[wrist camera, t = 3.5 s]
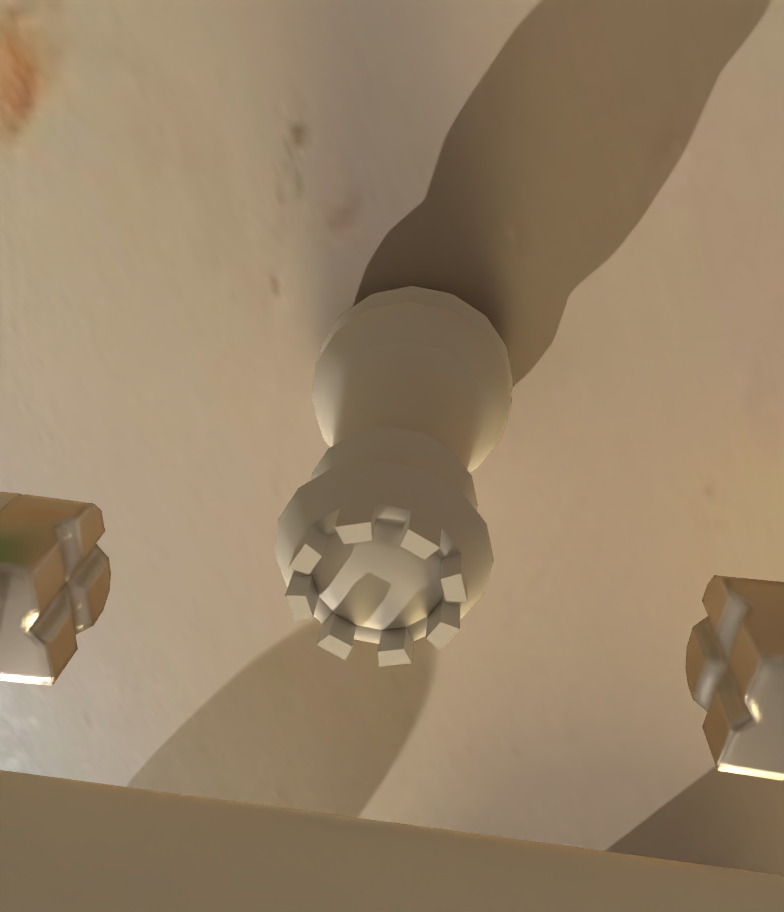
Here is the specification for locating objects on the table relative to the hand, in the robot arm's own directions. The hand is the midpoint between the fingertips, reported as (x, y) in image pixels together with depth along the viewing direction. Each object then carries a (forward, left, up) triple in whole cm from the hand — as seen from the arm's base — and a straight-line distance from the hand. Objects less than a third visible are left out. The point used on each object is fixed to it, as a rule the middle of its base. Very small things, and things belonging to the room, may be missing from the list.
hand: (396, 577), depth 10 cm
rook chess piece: (0, 0, -8) cm, 8 cm away
